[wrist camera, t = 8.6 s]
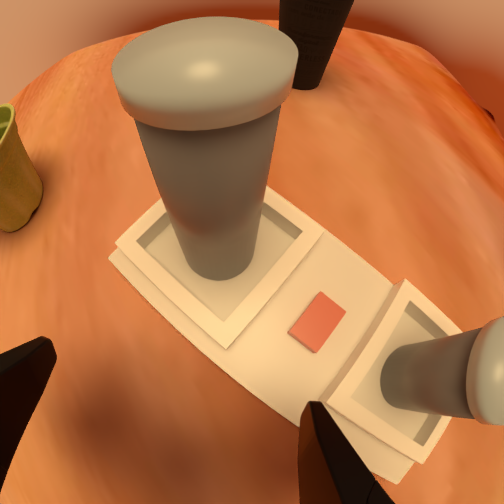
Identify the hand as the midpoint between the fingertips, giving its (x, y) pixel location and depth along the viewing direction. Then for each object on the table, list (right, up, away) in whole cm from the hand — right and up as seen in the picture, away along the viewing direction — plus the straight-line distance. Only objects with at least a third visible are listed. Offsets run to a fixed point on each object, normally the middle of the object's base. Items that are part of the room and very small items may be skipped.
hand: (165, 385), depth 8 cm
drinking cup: (+8, +24, +20) cm, 32 cm away
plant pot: (-19, +9, +12) cm, 24 cm away
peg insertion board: (+6, -1, +10) cm, 12 cm away
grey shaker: (+1, +5, +10) cm, 11 cm away
